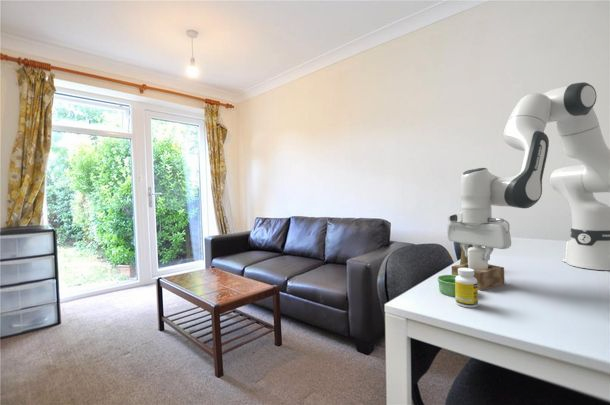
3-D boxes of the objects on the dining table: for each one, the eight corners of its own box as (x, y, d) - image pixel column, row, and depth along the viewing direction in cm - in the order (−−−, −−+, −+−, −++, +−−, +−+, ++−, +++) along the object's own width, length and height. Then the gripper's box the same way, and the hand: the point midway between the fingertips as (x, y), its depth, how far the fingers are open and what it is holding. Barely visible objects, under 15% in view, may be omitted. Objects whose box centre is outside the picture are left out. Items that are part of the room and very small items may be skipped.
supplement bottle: (478, 309, 75) (476, 272, 75) (454, 306, 78) (453, 270, 78) (478, 302, 80) (477, 267, 79) (456, 299, 83) (455, 266, 82)
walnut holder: (475, 276, 103) (475, 261, 103) (504, 284, 94) (504, 267, 93) (452, 282, 98) (451, 266, 98) (480, 290, 89) (479, 273, 89)
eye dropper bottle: (485, 274, 92) (483, 237, 92) (466, 271, 96) (464, 236, 96) (490, 271, 95) (488, 235, 94) (471, 269, 99) (469, 234, 99)
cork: (460, 270, 111) (459, 242, 111) (458, 266, 117) (457, 239, 116) (478, 271, 109) (477, 242, 109) (475, 267, 115) (474, 240, 114)
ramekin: (466, 300, 82) (465, 285, 82) (433, 294, 88) (433, 280, 88) (473, 291, 88) (473, 277, 88) (443, 286, 95) (442, 273, 94)
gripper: (515, 218, 87) (516, 263, 87) (455, 214, 106) (456, 252, 106) (502, 219, 84) (503, 266, 85) (443, 216, 103) (444, 254, 103)
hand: (477, 258), depth 95 cm, fingers closed on eye dropper bottle, 5 cm apart
